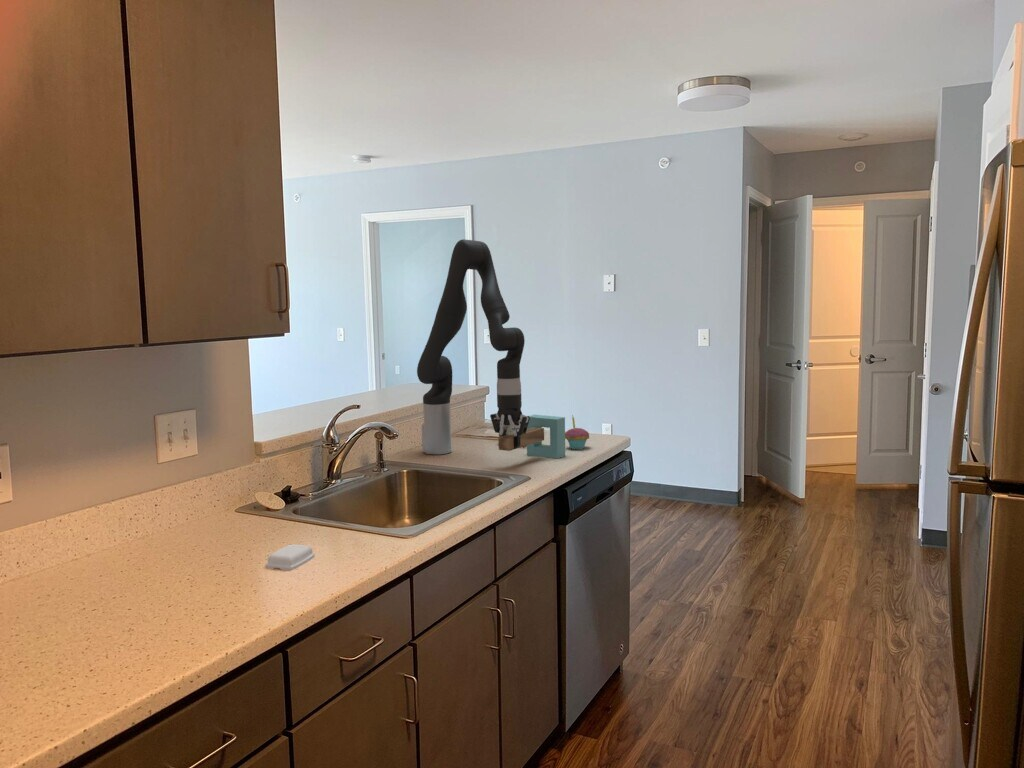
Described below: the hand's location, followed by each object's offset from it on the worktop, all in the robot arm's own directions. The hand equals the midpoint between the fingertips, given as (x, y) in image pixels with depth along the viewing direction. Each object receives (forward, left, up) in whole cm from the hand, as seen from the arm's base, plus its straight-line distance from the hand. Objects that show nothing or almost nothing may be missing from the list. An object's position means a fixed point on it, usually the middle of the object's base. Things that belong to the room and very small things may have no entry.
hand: (510, 447), depth 233 cm
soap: (+10, -92, -7) cm, 93 cm away
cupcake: (+3, +36, -7) cm, 37 cm away
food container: (-19, +30, -7) cm, 37 cm away
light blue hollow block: (0, +21, -7) cm, 22 cm away
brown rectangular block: (0, +6, 0) cm, 7 cm away
